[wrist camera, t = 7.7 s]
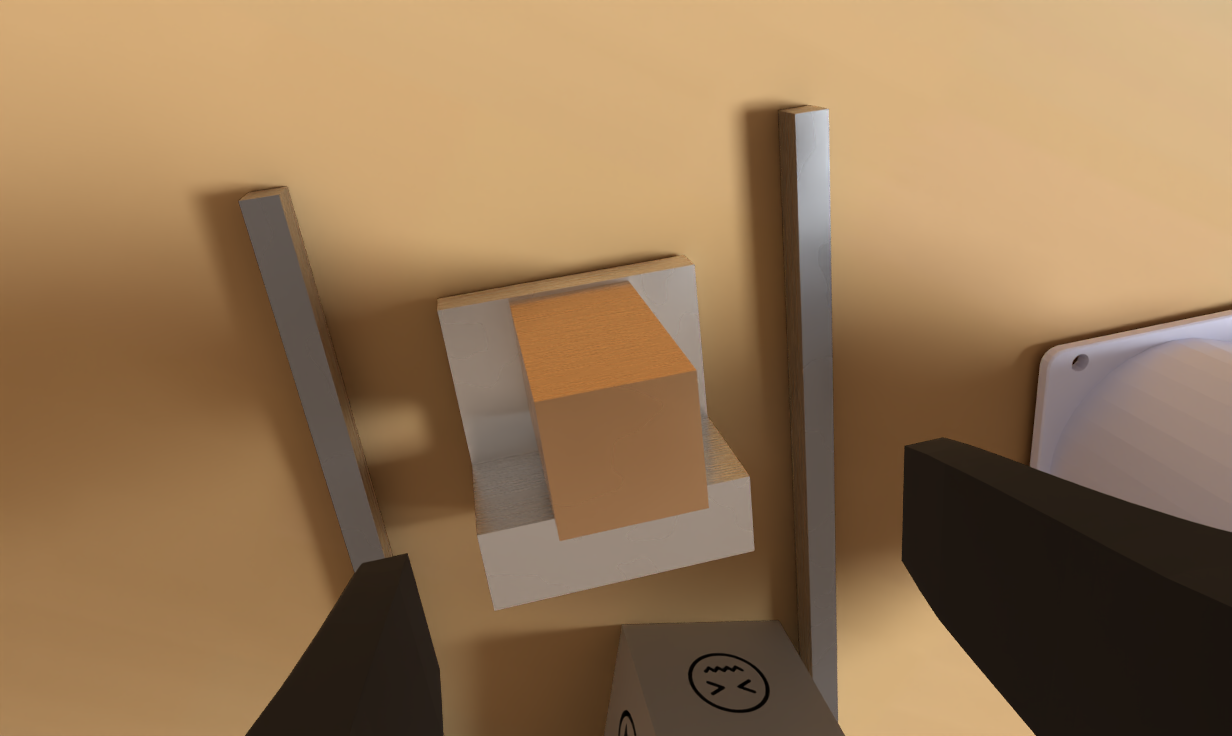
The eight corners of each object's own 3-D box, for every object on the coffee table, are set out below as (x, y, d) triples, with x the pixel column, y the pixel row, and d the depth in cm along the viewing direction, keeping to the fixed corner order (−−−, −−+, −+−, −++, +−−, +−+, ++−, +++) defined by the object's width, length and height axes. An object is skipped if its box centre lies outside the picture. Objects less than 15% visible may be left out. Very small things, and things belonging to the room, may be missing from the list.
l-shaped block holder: (684, 254, 20) (784, 347, 14) (703, 465, 22) (796, 619, 16) (437, 298, 19) (436, 416, 13) (485, 512, 21) (502, 692, 16)
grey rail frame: (810, 105, 19) (925, 127, 14) (827, 810, 29) (899, 956, 24) (249, 192, 17) (180, 248, 13) (468, 910, 27) (474, 1086, 23)
